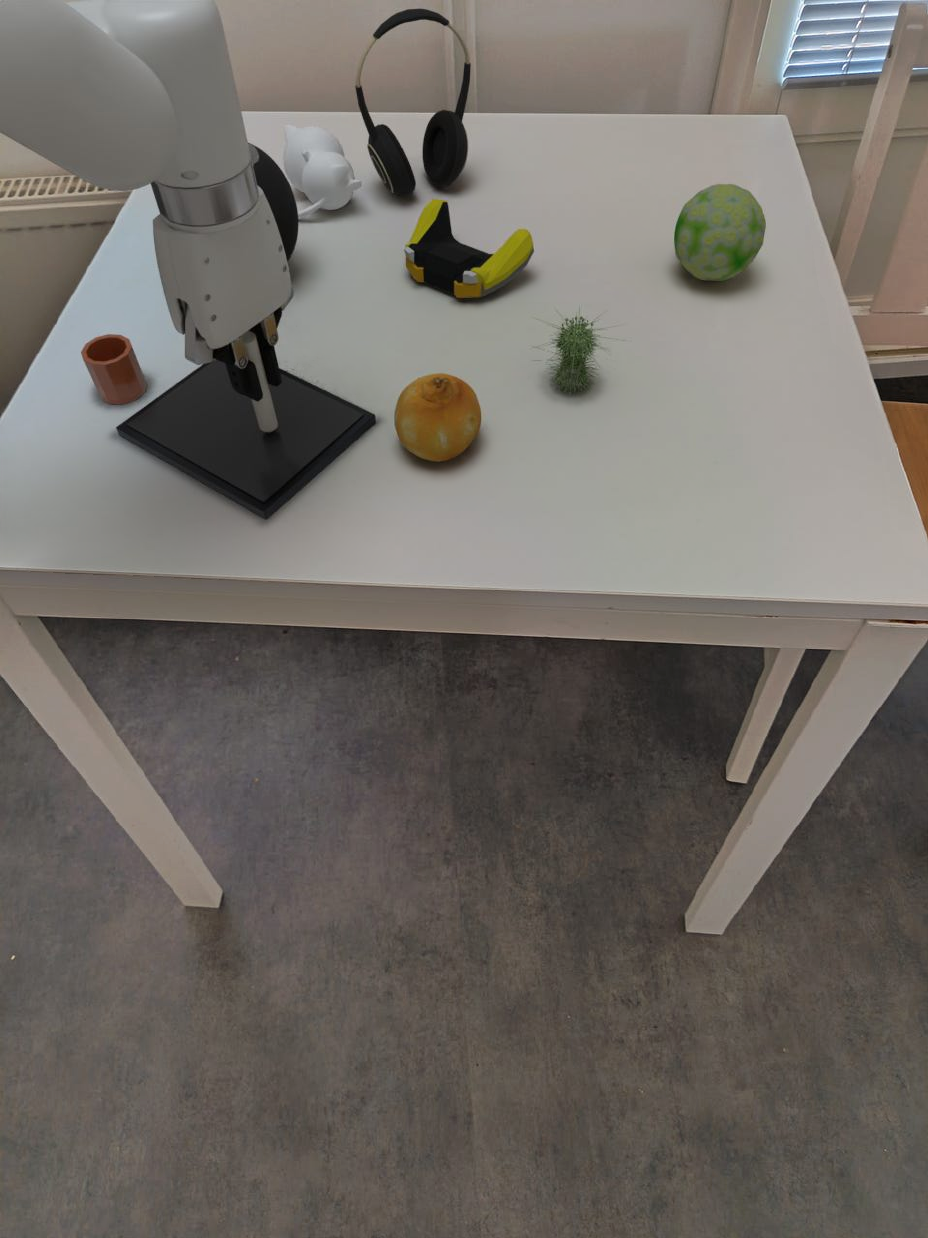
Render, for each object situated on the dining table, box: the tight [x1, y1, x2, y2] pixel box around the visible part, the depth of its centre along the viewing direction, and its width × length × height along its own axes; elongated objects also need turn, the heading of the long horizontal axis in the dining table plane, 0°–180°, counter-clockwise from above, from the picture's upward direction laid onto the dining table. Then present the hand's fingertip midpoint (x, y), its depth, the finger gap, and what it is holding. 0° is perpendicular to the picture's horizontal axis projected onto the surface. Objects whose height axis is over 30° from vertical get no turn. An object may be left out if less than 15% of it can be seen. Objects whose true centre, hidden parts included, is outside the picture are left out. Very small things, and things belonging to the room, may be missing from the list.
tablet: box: [115, 360, 377, 520], centre depth 84 cm, size 16×20×1 cm
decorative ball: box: [673, 183, 767, 282], centre depth 95 cm, size 10×10×10 cm
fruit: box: [393, 372, 482, 462], centre depth 80 cm, size 8×8×8 cm
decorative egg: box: [248, 142, 299, 263], centre depth 94 cm, size 12×12×15 cm
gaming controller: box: [403, 198, 535, 299], centre depth 97 cm, size 15×6×10 cm
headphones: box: [354, 8, 472, 197], centre depth 103 cm, size 9×15×20 cm, turn 115°
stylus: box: [241, 331, 278, 433], centre depth 78 cm, size 2×2×11 cm
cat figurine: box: [282, 124, 363, 221], centre depth 107 cm, size 9×11×12 cm
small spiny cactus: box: [520, 307, 633, 395], centre depth 84 cm, size 12×12×8 cm
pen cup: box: [80, 333, 148, 405], centre depth 86 cm, size 5×5×5 cm
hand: (258, 386), depth 78 cm, fingers closed on stylus, 1 cm apart
